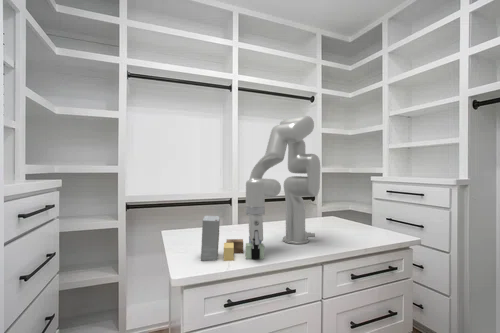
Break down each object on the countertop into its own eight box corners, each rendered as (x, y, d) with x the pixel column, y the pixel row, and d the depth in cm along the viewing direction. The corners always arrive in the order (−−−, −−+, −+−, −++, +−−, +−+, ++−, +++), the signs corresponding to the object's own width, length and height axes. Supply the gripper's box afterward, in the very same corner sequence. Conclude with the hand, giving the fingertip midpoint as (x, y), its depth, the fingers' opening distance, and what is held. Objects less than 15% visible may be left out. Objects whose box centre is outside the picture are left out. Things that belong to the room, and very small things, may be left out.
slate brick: (248, 246, 114) (248, 235, 114) (257, 246, 115) (257, 235, 115) (253, 251, 107) (253, 239, 108) (261, 251, 108) (261, 239, 108)
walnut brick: (242, 250, 109) (242, 239, 109) (243, 253, 105) (243, 241, 105) (226, 251, 108) (226, 239, 108) (226, 254, 104) (226, 241, 105)
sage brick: (262, 255, 102) (263, 243, 102) (263, 259, 99) (264, 246, 99) (245, 255, 102) (245, 243, 102) (246, 258, 98) (246, 245, 98)
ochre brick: (224, 254, 103) (224, 242, 103) (233, 254, 104) (233, 242, 104) (223, 261, 96) (223, 247, 96) (233, 260, 97) (233, 247, 97)
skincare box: (202, 254, 104) (202, 215, 104) (219, 253, 105) (220, 215, 105) (200, 261, 96) (200, 219, 96) (219, 260, 96) (219, 219, 96)
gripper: (267, 214, 93) (267, 264, 92) (261, 207, 109) (261, 250, 109) (247, 214, 92) (246, 264, 92) (244, 207, 109) (244, 250, 108)
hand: (255, 256), depth 100 cm, fingers closed on sage brick, 3 cm apart
